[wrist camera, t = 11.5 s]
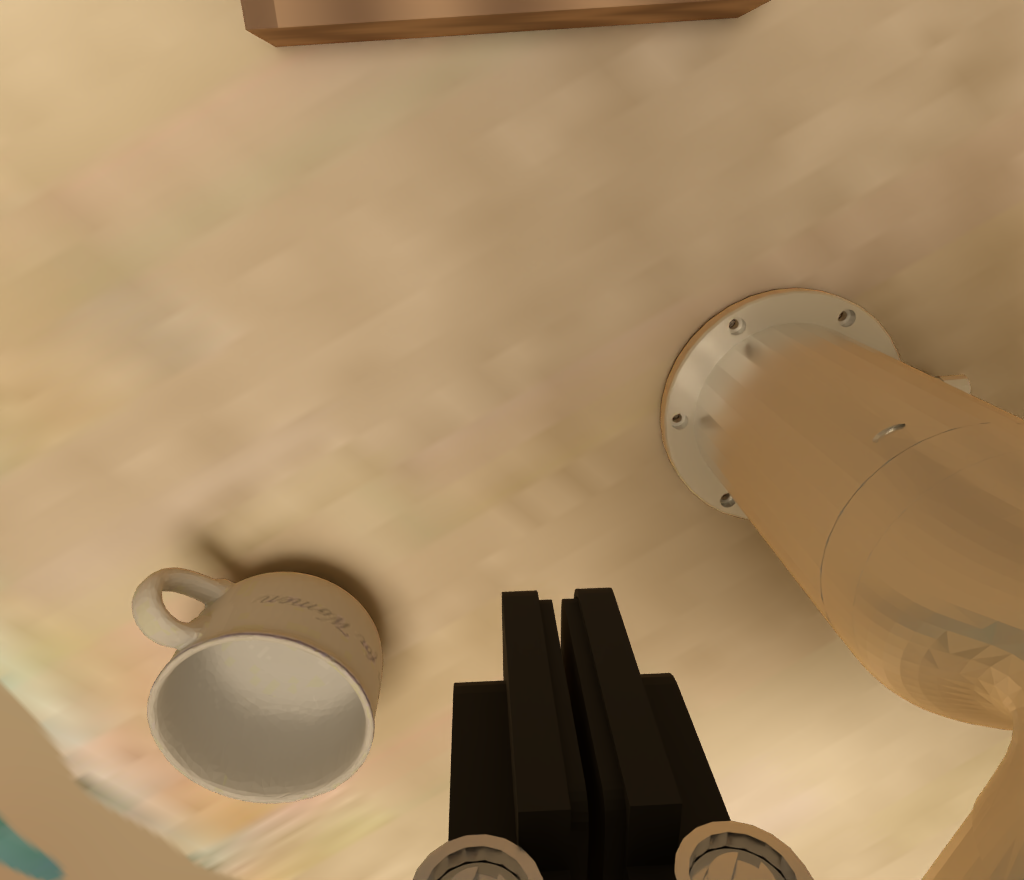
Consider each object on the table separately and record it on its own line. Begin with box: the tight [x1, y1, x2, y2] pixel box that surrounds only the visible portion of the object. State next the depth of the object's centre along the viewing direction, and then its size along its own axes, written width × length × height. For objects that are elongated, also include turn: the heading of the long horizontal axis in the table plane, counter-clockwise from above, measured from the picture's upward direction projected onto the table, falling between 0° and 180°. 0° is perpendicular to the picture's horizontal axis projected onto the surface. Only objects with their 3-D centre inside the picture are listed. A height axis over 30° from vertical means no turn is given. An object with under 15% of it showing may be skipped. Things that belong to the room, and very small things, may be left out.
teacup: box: [132, 568, 383, 804], centre depth 38 cm, size 14×11×8 cm
